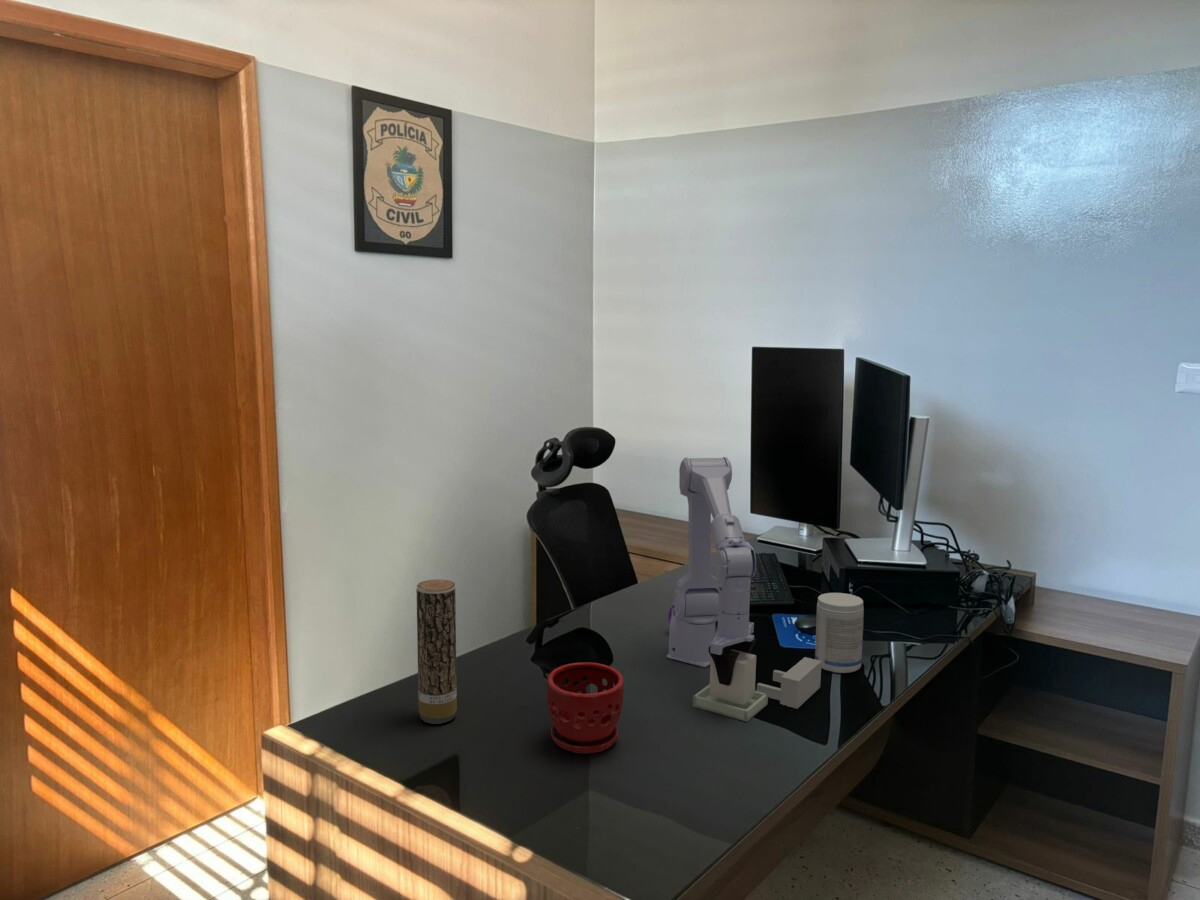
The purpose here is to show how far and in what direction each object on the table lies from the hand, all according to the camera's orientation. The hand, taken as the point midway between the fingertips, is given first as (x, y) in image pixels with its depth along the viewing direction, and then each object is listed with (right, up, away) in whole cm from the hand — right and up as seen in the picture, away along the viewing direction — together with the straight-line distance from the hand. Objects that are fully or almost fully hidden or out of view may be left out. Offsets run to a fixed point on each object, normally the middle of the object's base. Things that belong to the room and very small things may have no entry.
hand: (731, 679), depth 166 cm
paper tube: (-54, -6, -6) cm, 55 cm away
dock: (+12, -4, +7) cm, 15 cm away
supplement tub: (+26, -3, +21) cm, 33 cm away
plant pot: (-27, -7, -14) cm, 32 cm away
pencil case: (-1, +1, +44) cm, 44 cm away
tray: (0, -5, +1) cm, 5 cm away
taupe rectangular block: (0, -3, 0) cm, 3 cm away
